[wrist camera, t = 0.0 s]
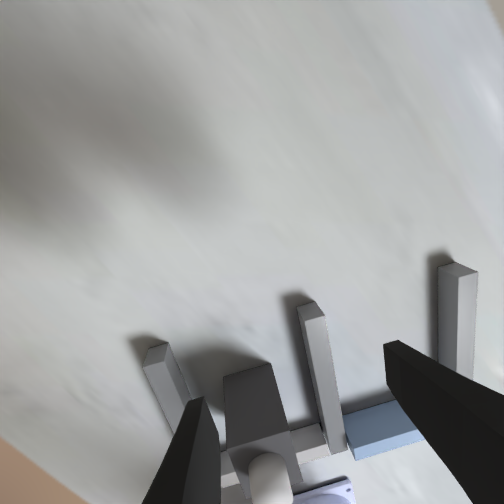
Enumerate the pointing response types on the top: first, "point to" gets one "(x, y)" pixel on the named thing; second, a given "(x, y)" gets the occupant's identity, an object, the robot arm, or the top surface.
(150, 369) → the cable duct
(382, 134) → the top surface
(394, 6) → the top surface
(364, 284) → the top surface
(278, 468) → the cord connector
